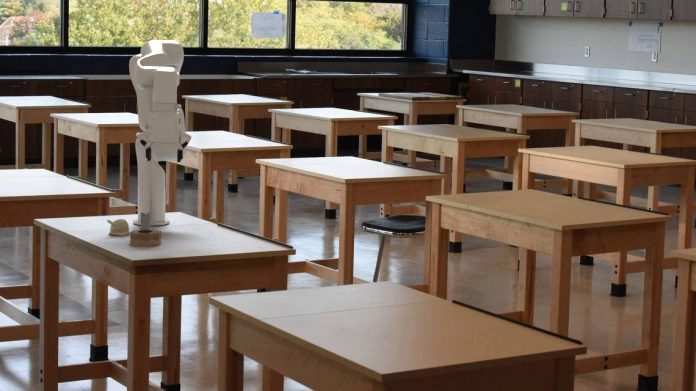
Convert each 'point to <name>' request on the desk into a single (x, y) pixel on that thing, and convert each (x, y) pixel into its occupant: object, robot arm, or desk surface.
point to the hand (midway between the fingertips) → (164, 161)
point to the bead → (145, 238)
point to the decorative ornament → (119, 227)
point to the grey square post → (145, 222)
